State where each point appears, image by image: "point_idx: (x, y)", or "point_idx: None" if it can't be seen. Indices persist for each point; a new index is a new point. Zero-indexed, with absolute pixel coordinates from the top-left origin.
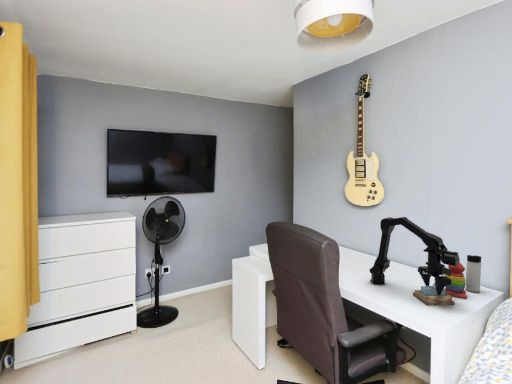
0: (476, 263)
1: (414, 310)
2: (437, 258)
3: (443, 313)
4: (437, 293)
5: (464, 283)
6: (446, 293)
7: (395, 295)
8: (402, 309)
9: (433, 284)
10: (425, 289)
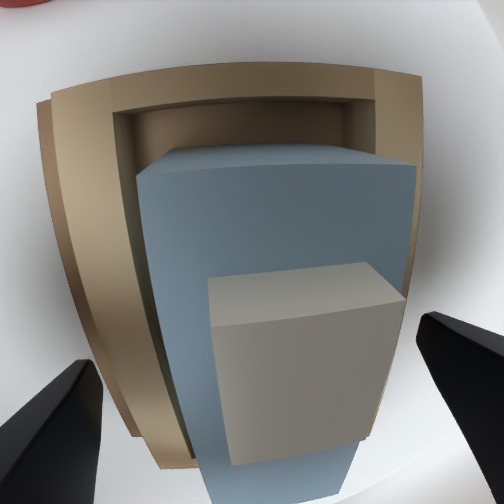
0: None
1: (397, 443)
2: None
3: (486, 304)
4: (435, 365)
5: None
6: (286, 77)
7: (171, 490)
8: (367, 479)
9: (250, 456)
10: (337, 491)
